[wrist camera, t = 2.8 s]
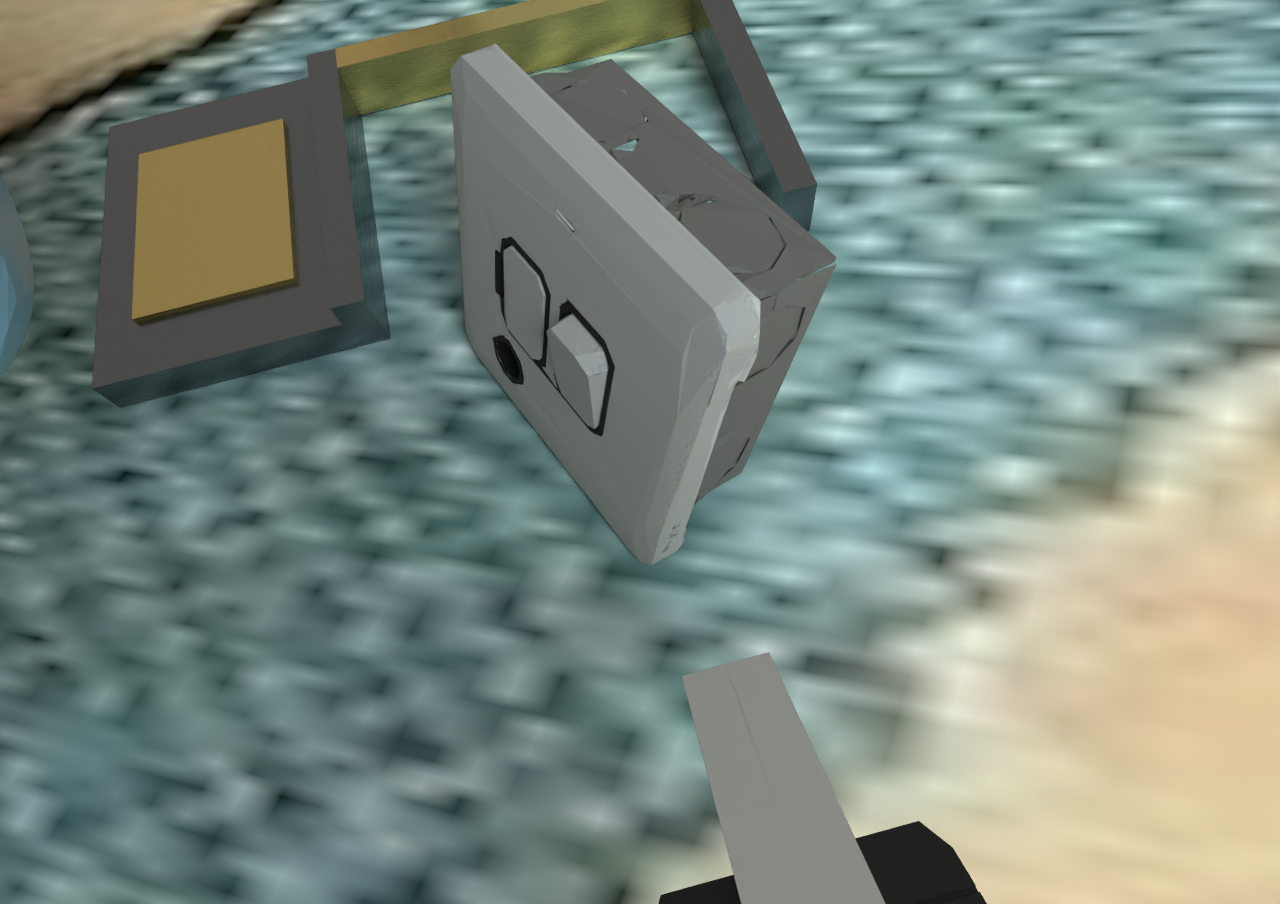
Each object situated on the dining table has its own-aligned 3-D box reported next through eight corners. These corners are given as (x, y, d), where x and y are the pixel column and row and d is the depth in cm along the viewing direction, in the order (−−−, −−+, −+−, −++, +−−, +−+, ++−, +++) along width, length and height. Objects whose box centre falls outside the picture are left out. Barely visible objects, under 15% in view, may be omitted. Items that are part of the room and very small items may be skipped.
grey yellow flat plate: (120, 407, 24) (71, 374, 22) (132, 152, 29) (93, 108, 27) (809, 230, 25) (817, 183, 23) (711, 8, 29) (711, -45, 27)
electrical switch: (466, 346, 24) (372, 75, 16) (603, 268, 25) (584, -19, 17) (649, 582, 20) (652, 390, 12) (798, 475, 22) (889, 240, 14)
